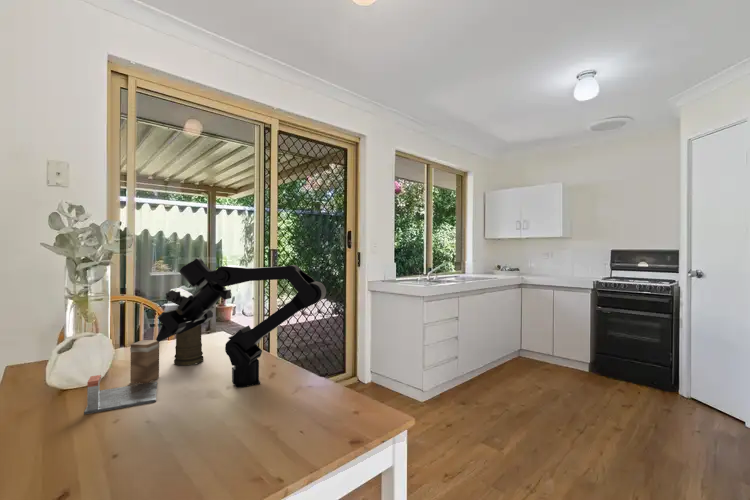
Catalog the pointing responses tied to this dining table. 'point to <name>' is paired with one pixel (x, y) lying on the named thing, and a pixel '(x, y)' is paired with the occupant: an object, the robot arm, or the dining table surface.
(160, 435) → the dining table surface
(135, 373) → the link block
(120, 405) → the keeper
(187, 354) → the container
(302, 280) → the robot arm
